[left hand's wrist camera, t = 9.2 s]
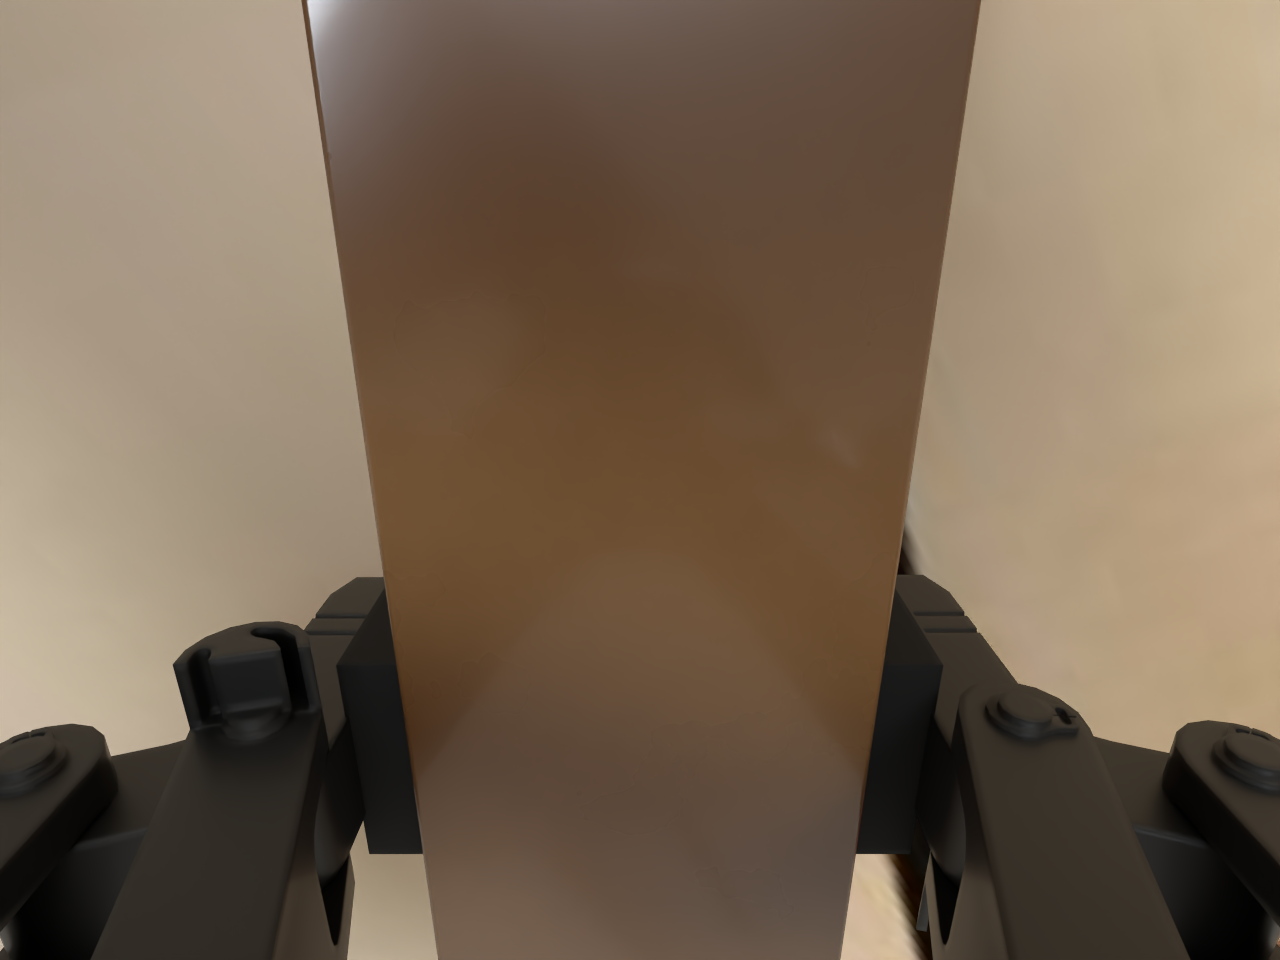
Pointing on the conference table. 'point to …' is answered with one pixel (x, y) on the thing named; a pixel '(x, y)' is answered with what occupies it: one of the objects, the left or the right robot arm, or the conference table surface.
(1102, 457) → the conference table surface
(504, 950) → the post
